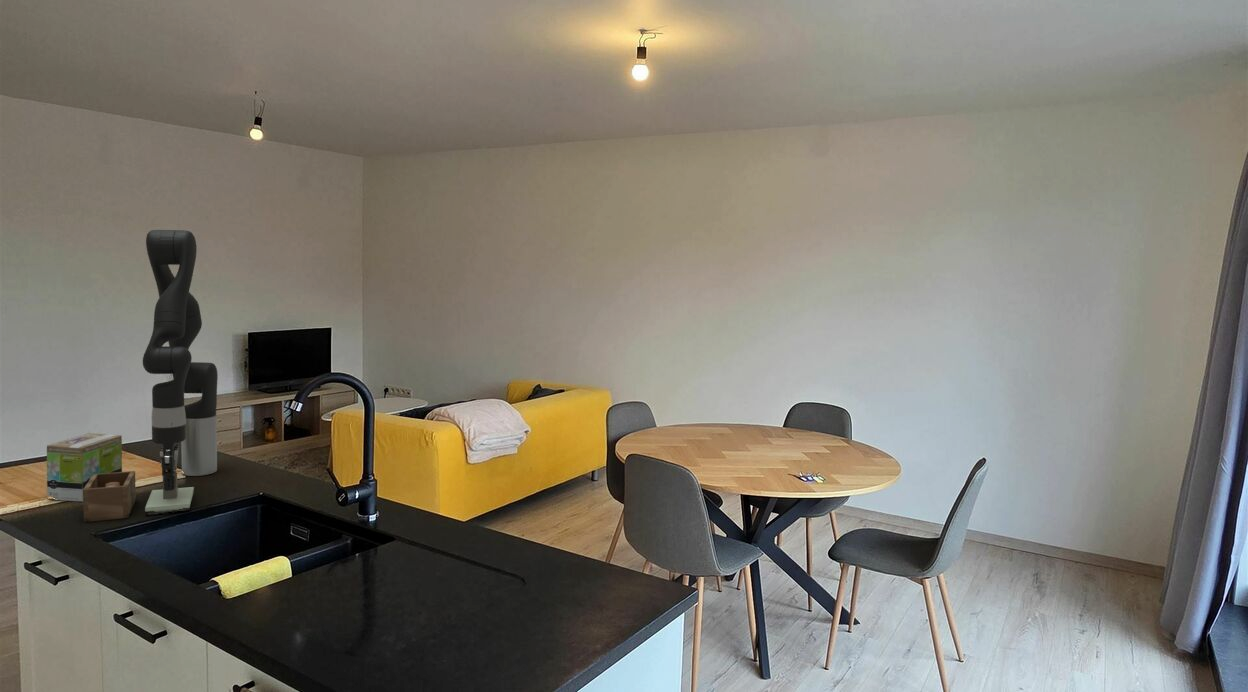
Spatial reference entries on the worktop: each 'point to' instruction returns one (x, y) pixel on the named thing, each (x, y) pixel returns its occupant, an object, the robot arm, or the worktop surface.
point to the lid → (170, 498)
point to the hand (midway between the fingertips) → (170, 487)
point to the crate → (109, 496)
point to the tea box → (80, 463)
